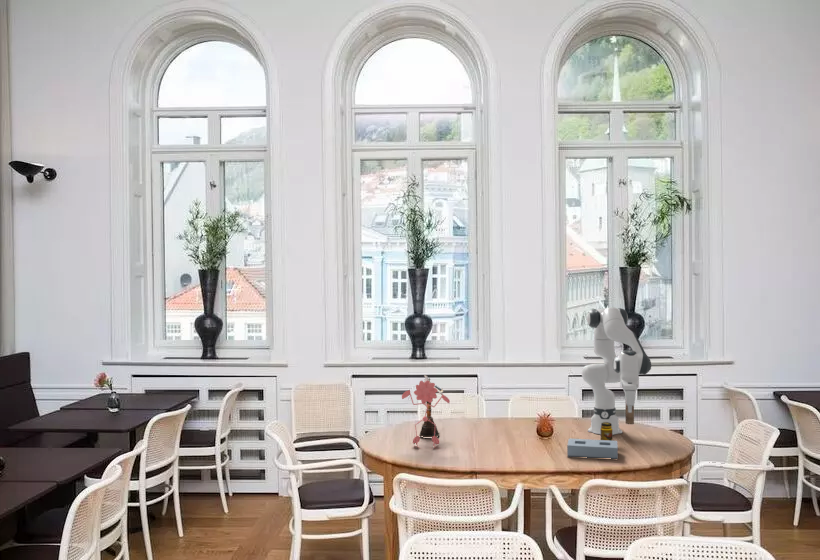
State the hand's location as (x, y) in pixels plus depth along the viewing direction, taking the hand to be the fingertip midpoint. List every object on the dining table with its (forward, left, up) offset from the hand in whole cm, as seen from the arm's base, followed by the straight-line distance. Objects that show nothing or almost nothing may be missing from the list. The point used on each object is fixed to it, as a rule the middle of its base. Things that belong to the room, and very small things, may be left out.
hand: (629, 411), depth 352 cm
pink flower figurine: (0, -104, -23) cm, 107 cm away
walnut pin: (0, 0, -6) cm, 6 cm away
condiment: (-19, -12, -23) cm, 32 cm away
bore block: (+1, -18, -23) cm, 29 cm away
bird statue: (-20, -105, -23) cm, 109 cm away
